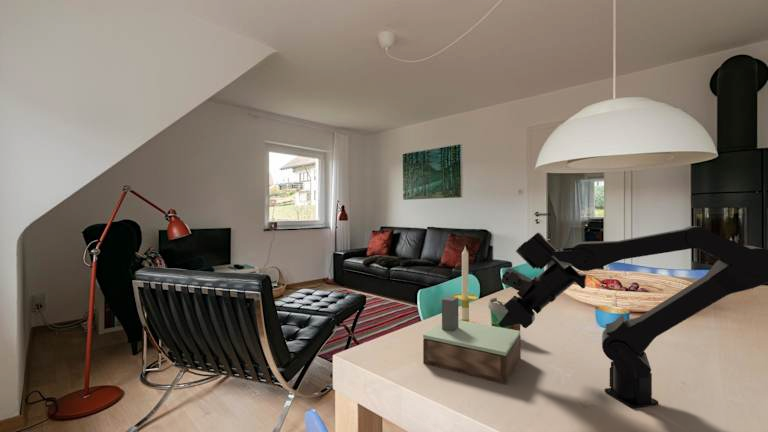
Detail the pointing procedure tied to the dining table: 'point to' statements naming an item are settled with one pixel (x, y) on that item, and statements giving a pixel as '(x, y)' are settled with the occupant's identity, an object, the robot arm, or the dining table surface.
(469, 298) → the candle
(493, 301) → the food container
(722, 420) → the dining table surface
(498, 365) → the walnut box
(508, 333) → the lid
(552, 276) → the robot arm
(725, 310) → the dining table surface
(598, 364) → the dining table surface
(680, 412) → the dining table surface
